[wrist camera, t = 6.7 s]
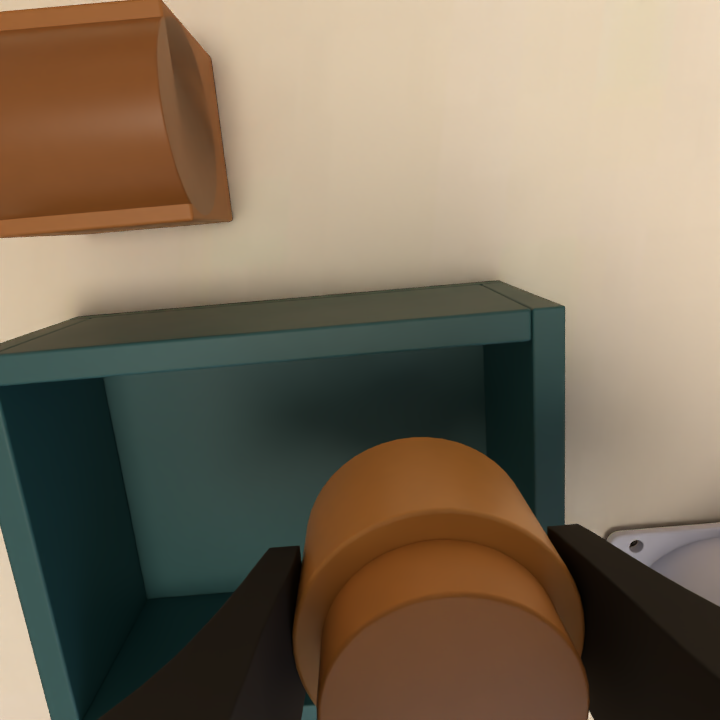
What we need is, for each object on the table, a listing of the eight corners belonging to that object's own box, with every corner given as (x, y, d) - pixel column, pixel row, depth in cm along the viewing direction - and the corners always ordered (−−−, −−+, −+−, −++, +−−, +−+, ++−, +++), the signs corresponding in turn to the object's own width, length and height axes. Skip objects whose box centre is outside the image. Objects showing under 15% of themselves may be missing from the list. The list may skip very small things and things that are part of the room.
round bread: (528, 426, 12) (632, 547, 8) (529, 627, 13) (620, 833, 9) (295, 444, 12) (262, 575, 8) (317, 643, 13) (299, 856, 9)
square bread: (211, 55, 17) (140, -28, 12) (233, 221, 19) (179, 221, 13) (51, 70, 18) (-99, -6, 12) (83, 234, 19) (-38, 239, 13)
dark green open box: (500, 280, 19) (566, 305, 13) (507, 577, 22) (564, 708, 16) (76, 316, 19) (-46, 358, 13) (136, 608, 22) (57, 749, 16)
